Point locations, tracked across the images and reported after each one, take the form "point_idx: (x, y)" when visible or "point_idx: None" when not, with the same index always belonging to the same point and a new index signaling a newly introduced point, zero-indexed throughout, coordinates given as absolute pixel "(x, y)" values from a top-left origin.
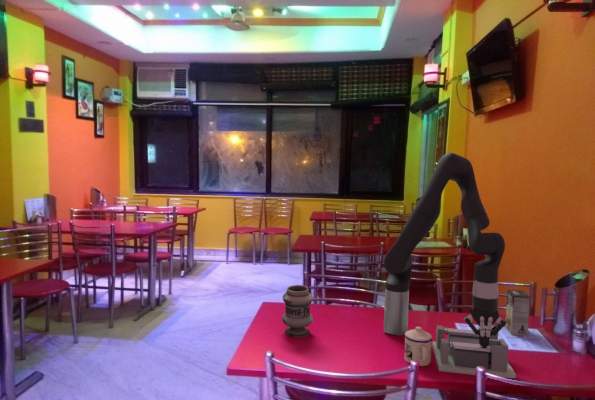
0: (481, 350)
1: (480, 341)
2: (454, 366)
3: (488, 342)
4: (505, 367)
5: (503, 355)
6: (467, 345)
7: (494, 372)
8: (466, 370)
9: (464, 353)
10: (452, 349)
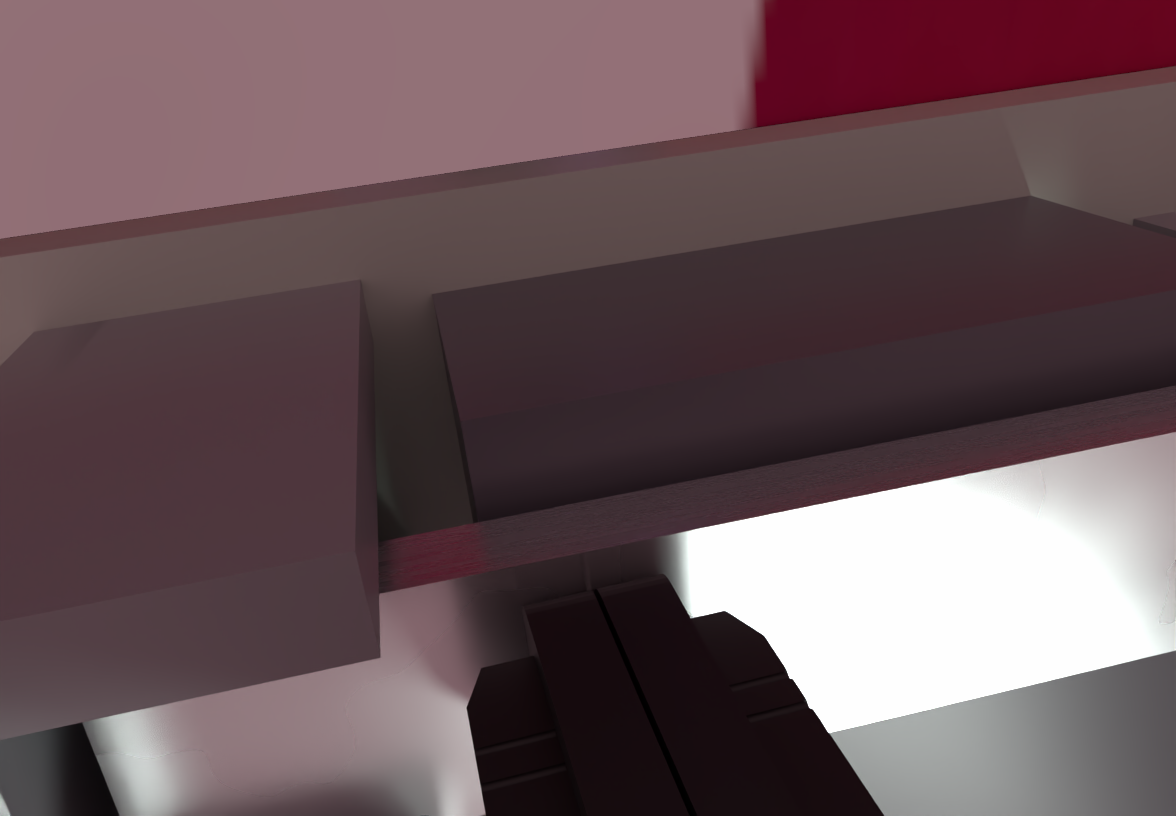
0: (659, 496)
1: (784, 701)
2: (1039, 172)
3: (503, 759)
4: (39, 362)
5: (5, 478)
6: (1045, 540)
7: (296, 212)
8: (831, 127)
9: (1049, 297)
10: None
